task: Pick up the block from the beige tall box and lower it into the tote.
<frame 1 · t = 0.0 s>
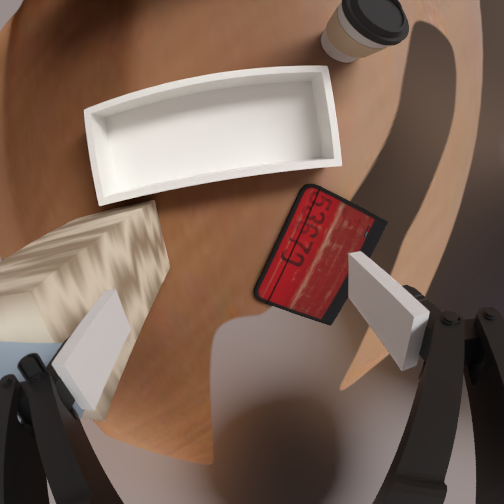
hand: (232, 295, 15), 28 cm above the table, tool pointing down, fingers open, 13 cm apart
coffee cup: (340, 45, 34), on the table
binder: (318, 256, 46), on the table
tote: (210, 131, 37), on the table
beige tall box: (120, 242, 42), on the table
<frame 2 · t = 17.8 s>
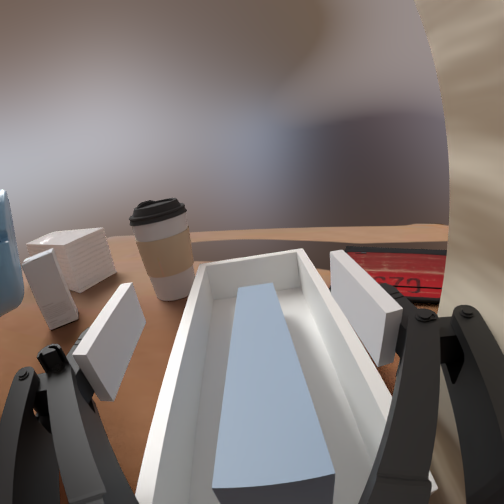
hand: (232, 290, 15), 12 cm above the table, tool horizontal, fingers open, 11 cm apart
coffee cup: (176, 291, 45), on the table
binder: (403, 281, 37), on the table
skincare box: (64, 322, 38), on the table
tote: (267, 378, 24), on the table
beige tall box: (491, 480, 7), on the table
block: (266, 376, 20), point 3 cm above the table, tilted 12°, touching tote
stack of papers: (70, 276, 61), on the table
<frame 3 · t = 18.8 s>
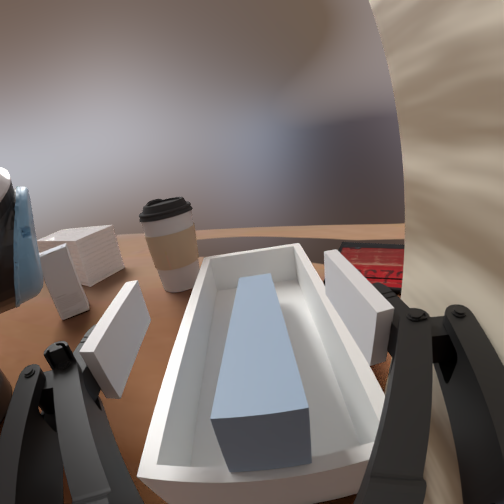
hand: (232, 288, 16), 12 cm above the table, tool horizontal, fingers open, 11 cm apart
coffee cup: (182, 284, 48), on the table
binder: (394, 274, 40), on the table
skincare box: (75, 313, 42), on the table
tote: (264, 357, 27), on the table
beige tall box: (471, 455, 11), on the table
block: (262, 352, 23), point 3 cm above the table, tilted 12°, touching tote
stack of papers: (79, 272, 65), on the table
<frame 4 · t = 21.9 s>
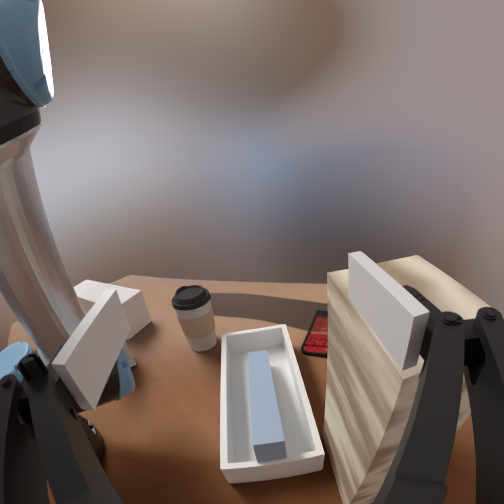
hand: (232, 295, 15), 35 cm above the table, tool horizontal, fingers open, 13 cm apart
coffee cup: (203, 343, 67), on the table
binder: (351, 340, 60), on the table
skincare box: (124, 366, 60), on the table
tote: (264, 403, 46), on the table
beige tall box: (368, 462, 30), on the table
block: (264, 405, 42), point 3 cm above the table, tilted 12°, touching tote
stack of papers: (109, 320, 82), on the table
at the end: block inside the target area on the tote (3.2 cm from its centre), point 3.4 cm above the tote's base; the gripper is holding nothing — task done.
